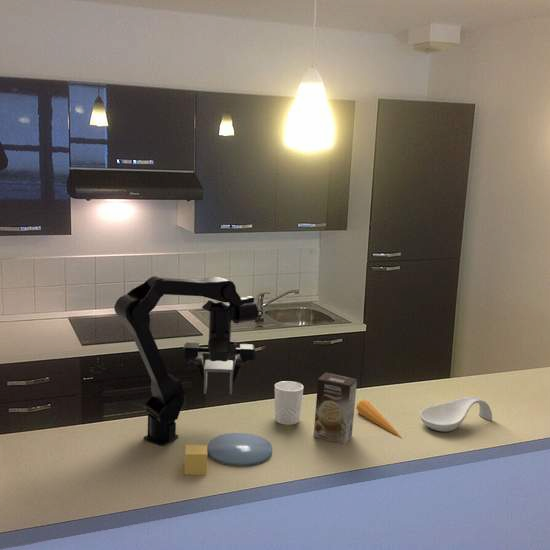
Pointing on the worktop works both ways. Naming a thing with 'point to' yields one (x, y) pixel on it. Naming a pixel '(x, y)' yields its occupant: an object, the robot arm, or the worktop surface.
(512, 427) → the worktop surface
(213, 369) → the cover
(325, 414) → the coffee box
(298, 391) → the white cup
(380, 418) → the carrot
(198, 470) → the block
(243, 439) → the dish
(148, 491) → the worktop surface
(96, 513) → the worktop surface
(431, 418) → the spoon rest
